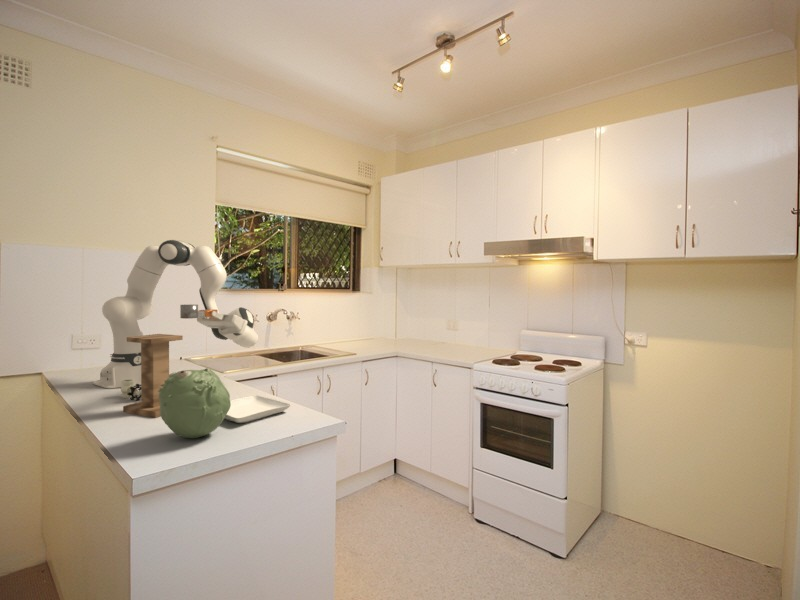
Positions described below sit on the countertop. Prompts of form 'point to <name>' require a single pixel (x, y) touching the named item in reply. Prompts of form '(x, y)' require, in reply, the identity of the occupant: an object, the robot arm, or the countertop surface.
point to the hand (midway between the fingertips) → (206, 312)
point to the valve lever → (194, 312)
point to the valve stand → (152, 372)
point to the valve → (130, 390)
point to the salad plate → (254, 408)
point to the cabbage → (193, 402)
